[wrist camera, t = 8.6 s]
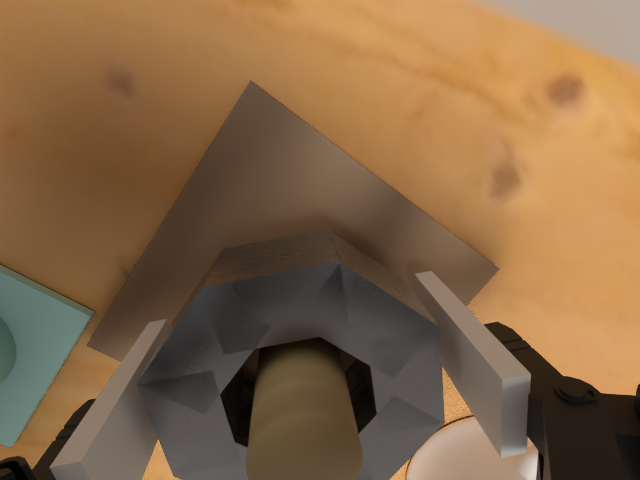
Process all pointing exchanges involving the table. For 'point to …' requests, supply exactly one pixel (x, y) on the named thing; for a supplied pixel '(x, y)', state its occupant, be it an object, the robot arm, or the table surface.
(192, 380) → the clutch ring
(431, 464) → the mug
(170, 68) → the table surface
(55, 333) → the stand
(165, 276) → the hub
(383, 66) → the table surface
